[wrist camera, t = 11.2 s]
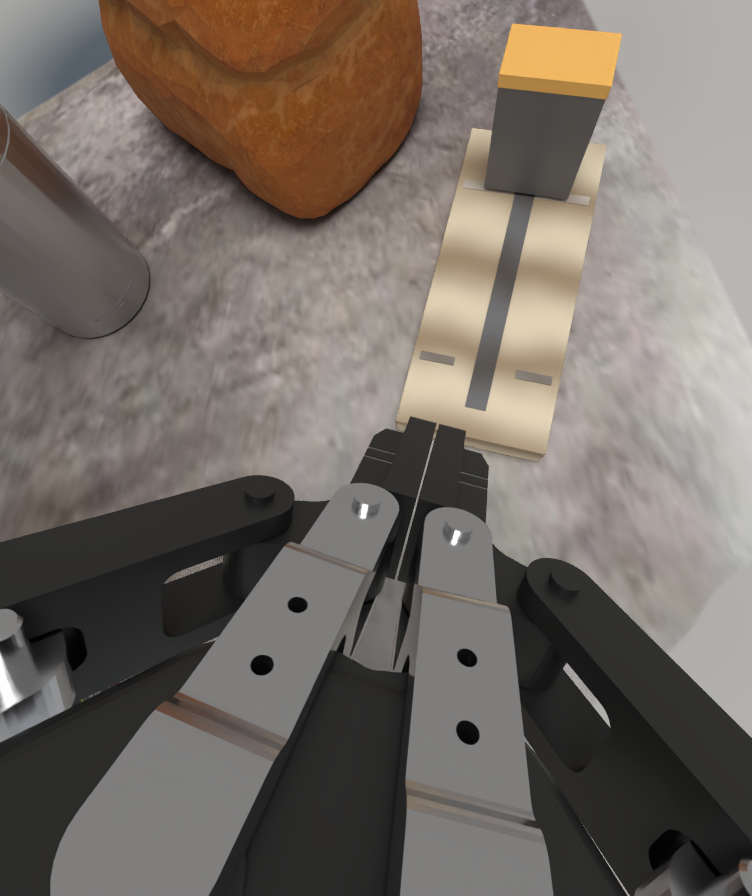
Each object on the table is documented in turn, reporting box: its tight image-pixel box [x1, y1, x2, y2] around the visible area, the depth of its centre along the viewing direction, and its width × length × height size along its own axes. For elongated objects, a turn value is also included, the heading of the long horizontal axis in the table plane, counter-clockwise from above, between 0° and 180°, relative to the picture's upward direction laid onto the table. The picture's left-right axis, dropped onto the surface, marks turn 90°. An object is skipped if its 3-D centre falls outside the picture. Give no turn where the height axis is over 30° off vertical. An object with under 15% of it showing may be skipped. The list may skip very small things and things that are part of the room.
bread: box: [99, 0, 422, 218], centre depth 35 cm, size 18×22×17 cm
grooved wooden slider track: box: [396, 128, 607, 462], centre depth 36 cm, size 24×10×3 cm, turn 165°
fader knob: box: [484, 24, 622, 200], centre depth 32 cm, size 4×6×9 cm, turn 75°
